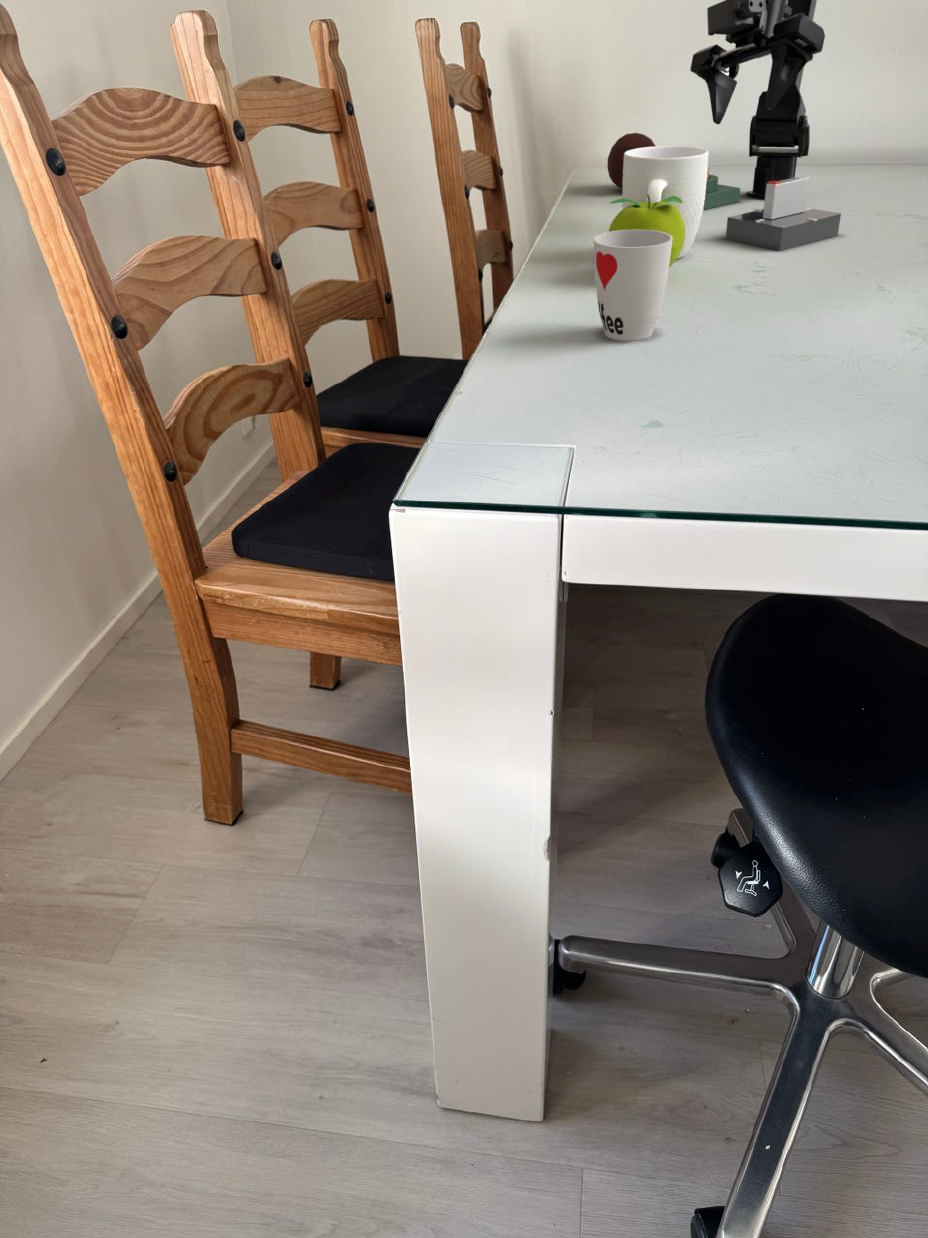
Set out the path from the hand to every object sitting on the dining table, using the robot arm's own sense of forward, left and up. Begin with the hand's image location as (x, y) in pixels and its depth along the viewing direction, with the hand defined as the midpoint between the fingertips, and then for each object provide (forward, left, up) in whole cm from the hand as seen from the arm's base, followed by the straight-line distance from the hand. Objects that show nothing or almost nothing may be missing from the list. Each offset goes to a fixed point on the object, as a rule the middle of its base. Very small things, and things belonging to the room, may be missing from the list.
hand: (741, 115), depth 133 cm
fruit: (+25, +9, -16) cm, 31 cm away
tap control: (-12, -19, -15) cm, 27 cm away
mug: (+17, +3, -16) cm, 23 cm away
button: (-12, -19, -12) cm, 26 cm away
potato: (-13, -36, -16) cm, 42 cm away
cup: (+42, +25, -16) cm, 51 cm away
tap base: (-3, +7, -15) cm, 17 cm away
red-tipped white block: (-3, +7, -12) cm, 15 cm away
